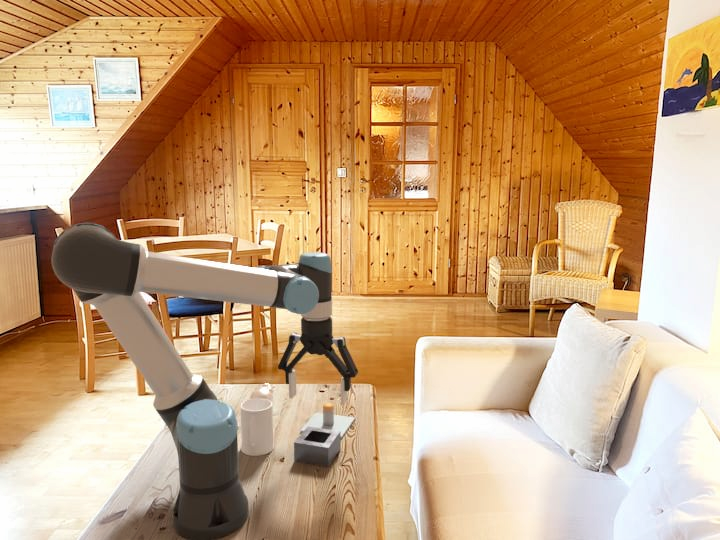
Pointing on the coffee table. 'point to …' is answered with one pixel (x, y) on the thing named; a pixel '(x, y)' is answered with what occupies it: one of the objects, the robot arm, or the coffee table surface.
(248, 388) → the coffee table surface
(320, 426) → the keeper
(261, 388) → the figurine
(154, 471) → the coffee table surface
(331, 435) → the hollow square block
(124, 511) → the coffee table surface
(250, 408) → the mug
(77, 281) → the robot arm
